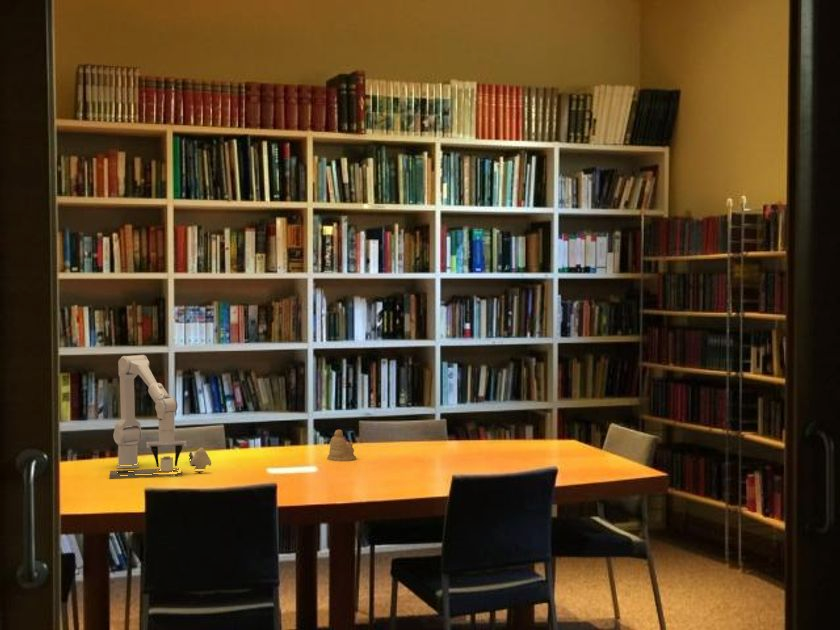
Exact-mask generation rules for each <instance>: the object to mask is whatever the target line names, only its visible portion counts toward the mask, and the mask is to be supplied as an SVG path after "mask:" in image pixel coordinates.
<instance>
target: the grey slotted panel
mask: <svg viewBox="0 0 840 630" xmlns="http://www.w3.org/2000/svg"><path fill="white" fill-rule="evenodd" d="M177 468H178V469H177ZM179 468H180V467H173V469H175V470H173V472H178V471H177V470H179ZM160 469H161V468H159V467H156V468H147V469H145V468H142V469H141V468H140V469H122V470H119V469H117V470H110V471H109V480H112V479H113V480H114V479H115V480H118V479H119V480H120V479H140V478H139V477H145V478H156V477H155V476H169V477H172V476H171V475H182V476H183V472H182V473H177V474H153V473H169V472H161V471H159V470H160ZM128 471H134V472H128ZM117 472H118V473H117ZM135 474H152V475H135ZM120 475H128V476H120Z"/></svg>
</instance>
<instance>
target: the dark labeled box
mask: <svg viewBox="0 0 840 630" xmlns="http://www.w3.org/2000/svg"><path fill="white" fill-rule="evenodd" d="M196 452H197V451H190V452H189V454H188V456H189V457H190V458H189V457H188V459H189V460H190V459H191V460H192V458H193V456H194V454H195V453H196ZM189 460H188V461H189ZM190 462H191V461H189V463H190ZM191 466H195V465H191ZM191 466H190V467H191Z"/></svg>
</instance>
